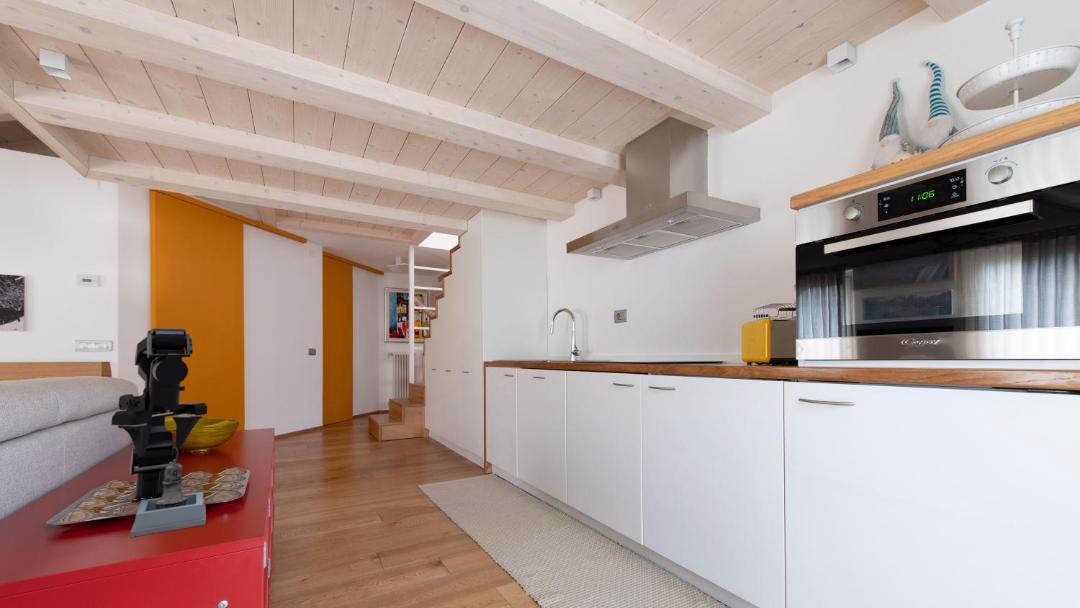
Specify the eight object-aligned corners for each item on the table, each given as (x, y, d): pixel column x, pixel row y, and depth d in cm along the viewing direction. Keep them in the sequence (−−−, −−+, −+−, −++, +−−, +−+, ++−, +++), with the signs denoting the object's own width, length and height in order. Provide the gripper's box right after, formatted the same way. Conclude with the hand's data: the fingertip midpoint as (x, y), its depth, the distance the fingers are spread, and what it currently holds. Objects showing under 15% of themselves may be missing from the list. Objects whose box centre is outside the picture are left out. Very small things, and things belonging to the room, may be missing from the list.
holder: (136, 519, 103) (138, 500, 103) (204, 508, 110) (206, 490, 110) (130, 537, 93) (132, 516, 94) (205, 524, 100) (206, 504, 100)
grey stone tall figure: (151, 524, 97) (156, 463, 99) (153, 515, 102) (157, 458, 103) (187, 518, 101) (191, 459, 102) (187, 510, 106) (191, 454, 107)
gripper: (172, 379, 122) (168, 442, 120) (93, 385, 103) (86, 459, 102) (210, 380, 120) (206, 443, 118) (136, 385, 102) (130, 461, 100)
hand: (160, 451), depth 110 cm, fingers open, 9 cm apart
